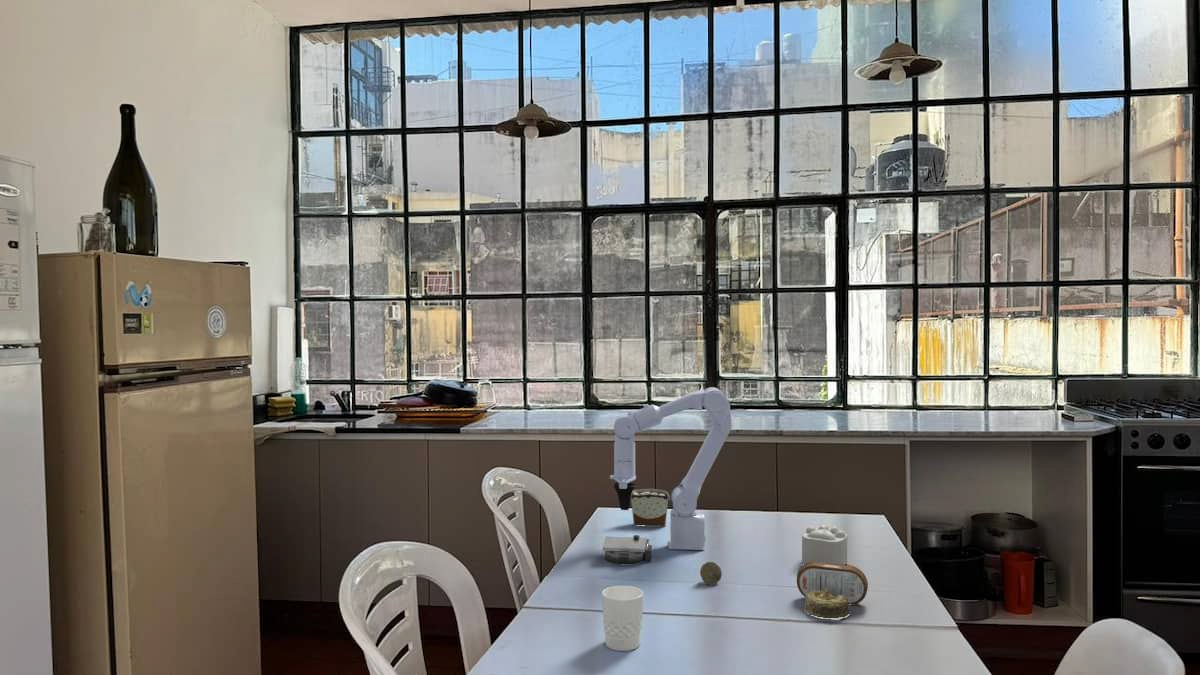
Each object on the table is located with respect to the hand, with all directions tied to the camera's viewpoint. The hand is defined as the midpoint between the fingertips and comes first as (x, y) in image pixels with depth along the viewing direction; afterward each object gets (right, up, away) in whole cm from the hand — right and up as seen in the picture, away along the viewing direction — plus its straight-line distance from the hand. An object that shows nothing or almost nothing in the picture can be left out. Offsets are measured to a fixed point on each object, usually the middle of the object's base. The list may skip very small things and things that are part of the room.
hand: (624, 509), depth 215 cm
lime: (+19, -11, -30) cm, 37 cm away
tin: (+44, -11, -42) cm, 62 cm away
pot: (0, -10, -11) cm, 15 cm away
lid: (0, -7, -11) cm, 13 cm away
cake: (+41, -12, -47) cm, 64 cm away
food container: (+8, -9, +23) cm, 26 cm away
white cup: (-2, -12, -64) cm, 65 cm away
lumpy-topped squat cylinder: (+51, -11, -14) cm, 54 cm away
